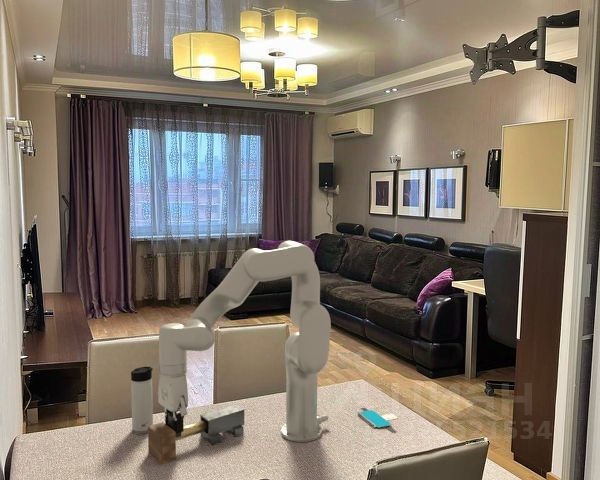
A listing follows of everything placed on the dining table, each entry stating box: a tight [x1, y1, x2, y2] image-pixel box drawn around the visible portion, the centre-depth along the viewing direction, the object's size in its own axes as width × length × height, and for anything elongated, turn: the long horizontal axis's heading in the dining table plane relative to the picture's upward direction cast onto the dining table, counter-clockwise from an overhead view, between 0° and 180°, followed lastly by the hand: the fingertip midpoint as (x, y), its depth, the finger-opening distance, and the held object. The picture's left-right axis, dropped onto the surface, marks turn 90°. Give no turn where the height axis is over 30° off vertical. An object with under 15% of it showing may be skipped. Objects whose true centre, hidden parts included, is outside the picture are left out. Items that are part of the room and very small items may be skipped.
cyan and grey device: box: [357, 407, 399, 434], centre depth 176 cm, size 20×12×2 cm, turn 23°
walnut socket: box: [147, 421, 177, 465], centre depth 150 cm, size 4×8×8 cm, turn 40°
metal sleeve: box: [200, 403, 245, 446], centre depth 163 cm, size 12×7×8 cm, turn 130°
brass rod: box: [166, 412, 208, 442], centre depth 155 cm, size 18×4×8 cm, turn 130°
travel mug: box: [130, 366, 154, 435], centre depth 166 cm, size 6×7×20 cm
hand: (174, 429), depth 153 cm, fingers closed on brass rod, 3 cm apart
